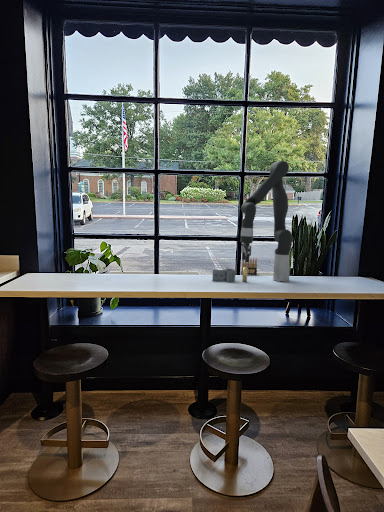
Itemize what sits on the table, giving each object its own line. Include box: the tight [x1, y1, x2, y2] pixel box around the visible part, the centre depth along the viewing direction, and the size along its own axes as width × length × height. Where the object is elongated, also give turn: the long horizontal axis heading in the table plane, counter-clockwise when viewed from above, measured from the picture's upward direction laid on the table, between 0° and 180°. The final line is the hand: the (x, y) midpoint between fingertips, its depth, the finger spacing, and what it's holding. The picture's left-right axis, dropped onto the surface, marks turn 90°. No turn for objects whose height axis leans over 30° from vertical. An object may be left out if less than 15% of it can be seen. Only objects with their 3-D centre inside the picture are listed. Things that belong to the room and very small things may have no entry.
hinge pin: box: [241, 267, 248, 283], centre depth 219 cm, size 3×3×9 cm
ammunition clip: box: [240, 257, 258, 276], centre depth 241 cm, size 11×2×12 cm, turn 89°
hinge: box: [212, 266, 236, 283], centre depth 224 cm, size 14×14×7 cm
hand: (245, 261), depth 217 cm, fingers open, 8 cm apart
